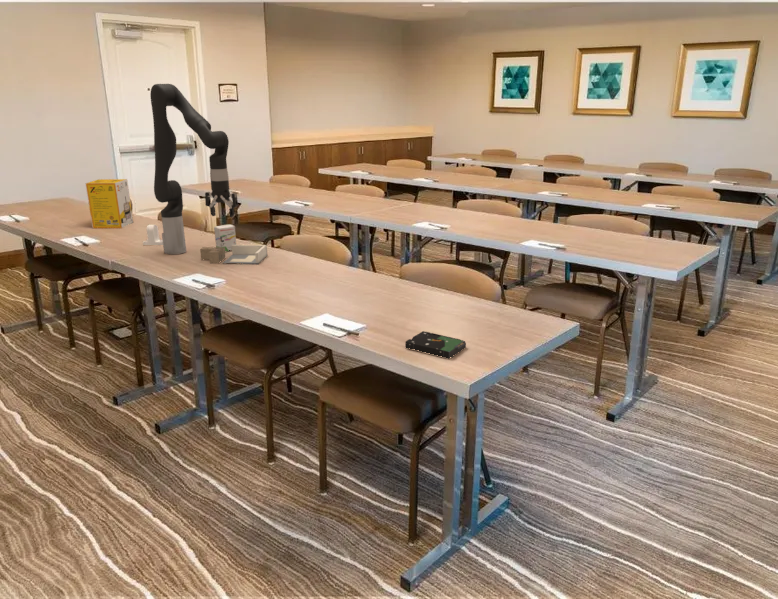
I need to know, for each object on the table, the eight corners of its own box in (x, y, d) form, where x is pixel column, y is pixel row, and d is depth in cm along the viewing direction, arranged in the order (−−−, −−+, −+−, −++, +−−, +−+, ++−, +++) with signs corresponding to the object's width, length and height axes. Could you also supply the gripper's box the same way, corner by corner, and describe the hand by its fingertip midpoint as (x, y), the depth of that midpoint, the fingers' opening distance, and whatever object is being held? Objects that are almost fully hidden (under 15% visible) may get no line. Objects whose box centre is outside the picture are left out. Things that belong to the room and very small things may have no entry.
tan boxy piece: (219, 263, 273) (217, 252, 272) (196, 263, 274) (195, 252, 273) (225, 258, 282) (224, 247, 280) (204, 257, 283) (202, 247, 281)
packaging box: (105, 222, 362) (98, 179, 354) (133, 222, 362) (127, 179, 354) (92, 228, 347) (85, 183, 339) (121, 228, 346) (115, 183, 339)
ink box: (220, 253, 291) (218, 228, 287) (216, 251, 295) (213, 226, 291) (237, 250, 296) (235, 225, 292) (232, 248, 300) (230, 224, 296)
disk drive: (404, 350, 182) (450, 360, 174) (404, 341, 181) (450, 351, 173) (422, 339, 190) (466, 348, 182) (422, 330, 189) (466, 339, 181)
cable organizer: (147, 243, 312) (145, 223, 308) (166, 243, 311) (164, 223, 308) (142, 245, 307) (140, 225, 303) (162, 246, 306) (159, 226, 303)
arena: (222, 263, 272) (221, 252, 271) (233, 255, 287) (232, 244, 285) (258, 264, 271) (257, 253, 270) (267, 255, 285) (266, 245, 284)
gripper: (200, 179, 266) (203, 217, 271) (230, 180, 263) (234, 218, 268) (208, 177, 273) (212, 214, 278) (238, 178, 270) (241, 215, 275)
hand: (222, 216), depth 273 cm, fingers open, 8 cm apart
